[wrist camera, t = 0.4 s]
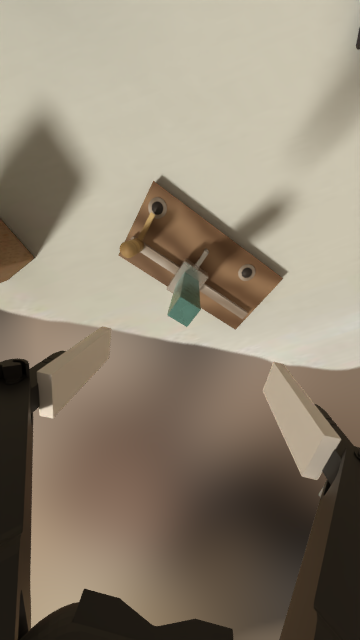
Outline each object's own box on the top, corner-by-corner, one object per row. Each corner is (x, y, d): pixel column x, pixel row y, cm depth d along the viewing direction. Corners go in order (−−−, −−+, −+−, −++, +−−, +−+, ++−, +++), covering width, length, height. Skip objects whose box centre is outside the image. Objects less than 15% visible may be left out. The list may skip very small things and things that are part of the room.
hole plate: (155, 182, 33) (143, 171, 25) (280, 276, 39) (301, 290, 31) (121, 253, 39) (103, 262, 31) (234, 326, 45) (242, 348, 37)
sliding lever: (196, 240, 35) (196, 256, 21) (218, 256, 36) (233, 281, 22) (169, 282, 39) (154, 319, 25) (189, 295, 40) (187, 338, 26)
